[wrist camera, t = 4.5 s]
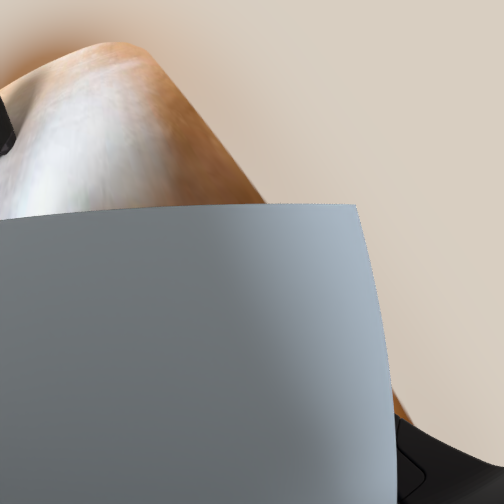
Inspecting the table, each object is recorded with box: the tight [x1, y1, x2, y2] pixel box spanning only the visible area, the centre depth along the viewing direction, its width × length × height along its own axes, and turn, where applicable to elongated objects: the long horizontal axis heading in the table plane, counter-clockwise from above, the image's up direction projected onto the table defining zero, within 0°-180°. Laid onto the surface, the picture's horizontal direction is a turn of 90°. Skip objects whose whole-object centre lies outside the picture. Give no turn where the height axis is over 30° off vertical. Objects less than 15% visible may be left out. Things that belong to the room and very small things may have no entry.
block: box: [0, 204, 397, 504], centre depth 7 cm, size 5×5×12 cm
